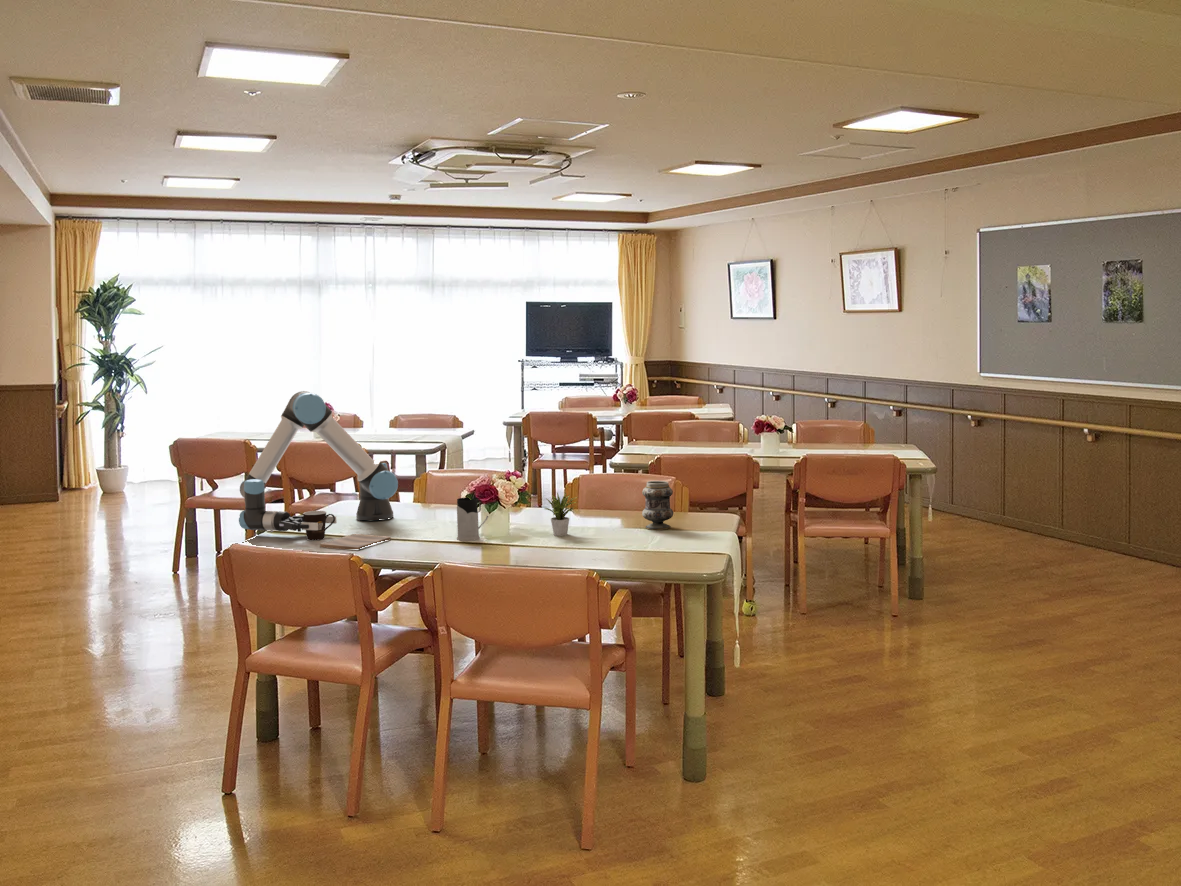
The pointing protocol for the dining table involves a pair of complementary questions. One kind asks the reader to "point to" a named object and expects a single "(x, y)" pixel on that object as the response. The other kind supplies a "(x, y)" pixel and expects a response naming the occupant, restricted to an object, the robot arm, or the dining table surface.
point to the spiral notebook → (354, 541)
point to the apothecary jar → (657, 504)
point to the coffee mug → (321, 520)
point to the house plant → (560, 515)
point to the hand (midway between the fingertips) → (326, 523)
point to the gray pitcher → (468, 519)
